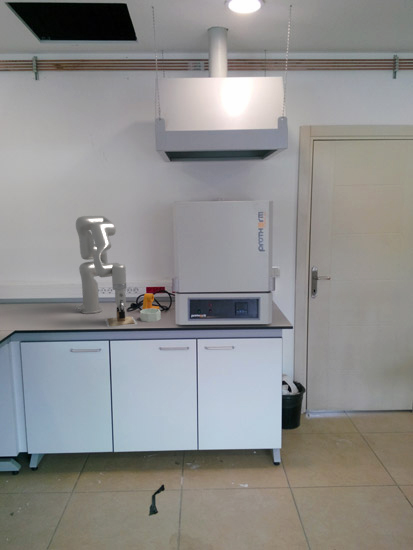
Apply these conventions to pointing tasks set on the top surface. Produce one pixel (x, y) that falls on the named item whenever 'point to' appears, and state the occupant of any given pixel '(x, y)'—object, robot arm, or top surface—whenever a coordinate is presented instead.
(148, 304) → the bracket
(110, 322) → the lid
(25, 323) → the top surface
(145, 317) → the bowl
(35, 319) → the top surface
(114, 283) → the robot arm
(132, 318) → the mat
